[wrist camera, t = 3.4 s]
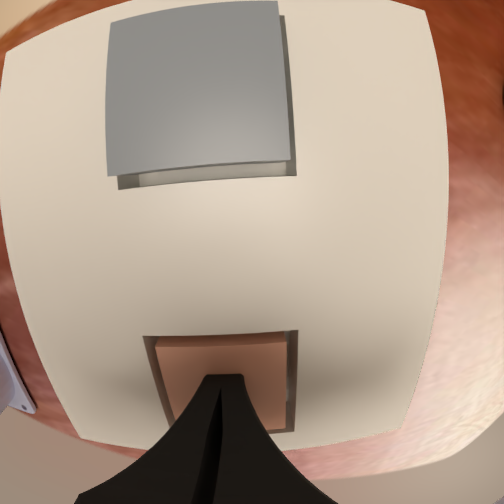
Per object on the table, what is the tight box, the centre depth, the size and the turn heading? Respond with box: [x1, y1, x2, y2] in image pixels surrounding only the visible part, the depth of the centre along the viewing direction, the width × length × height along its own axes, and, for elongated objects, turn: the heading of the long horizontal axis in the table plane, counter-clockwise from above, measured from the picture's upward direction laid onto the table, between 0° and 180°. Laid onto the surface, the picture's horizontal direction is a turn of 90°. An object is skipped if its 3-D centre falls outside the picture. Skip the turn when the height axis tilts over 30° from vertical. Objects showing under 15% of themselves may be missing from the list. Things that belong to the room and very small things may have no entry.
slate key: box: [105, 1, 291, 177], centre depth 7 cm, size 4×4×2 cm
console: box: [0, 0, 449, 451], centre depth 10 cm, size 16×18×3 cm
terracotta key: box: [155, 331, 287, 430], centre depth 11 cm, size 4×4×2 cm
